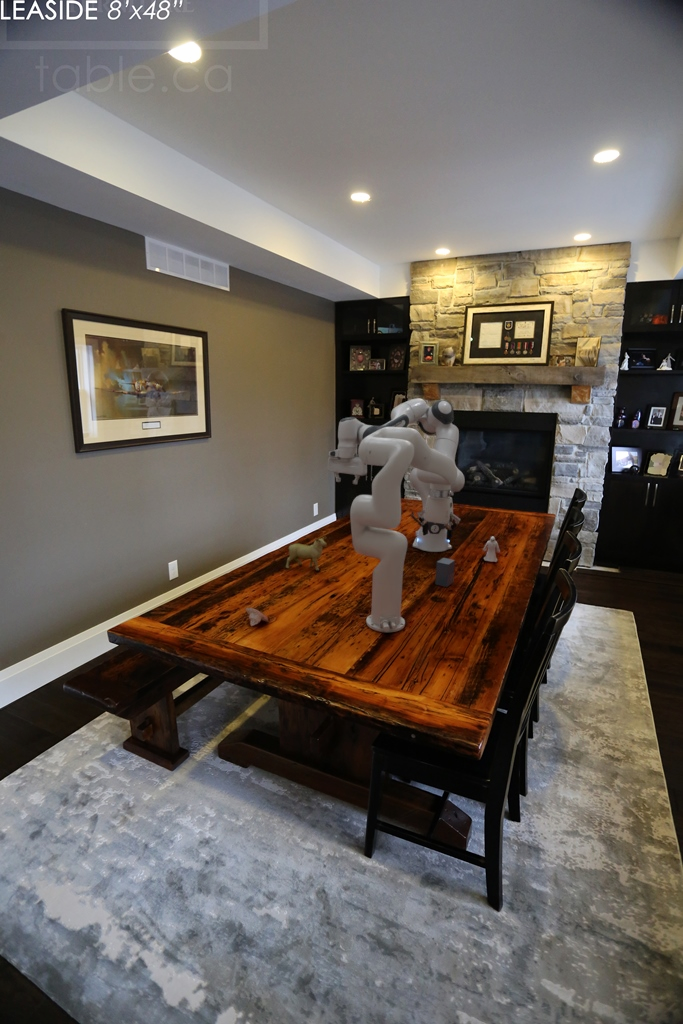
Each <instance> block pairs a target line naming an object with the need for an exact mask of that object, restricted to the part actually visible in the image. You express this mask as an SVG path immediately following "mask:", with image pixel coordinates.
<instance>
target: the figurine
mask: <svg viewBox="0 0 683 1024" xmlns="http://www.w3.org/2000/svg"><path fill="white" fill-rule="evenodd" d="M482 551H483V552H486V554H485V556H484V557H483V560H484V561H485V562H495V563H498V558H497V554H496V553H498V554H499V553H501V550H500V547H499V543H498V541H497V540H496V538H495V536H493V535H492V536H490V539H489V540H487V542H486V543H485V544H484V546H483V548H482Z"/></svg>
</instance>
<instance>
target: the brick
mask: <svg viewBox="0 0 683 1024" xmlns="http://www.w3.org/2000/svg"><path fill="white" fill-rule="evenodd" d="M455 565H456V559H451V558H447V557H442V558H441V559H439V560H437V561H436V567H435V568H436V569H435V583H434V584H435V585H437V586H441V587H444V588H448V587H450V586H451V585H452V584H453V583H454V579H455Z"/></svg>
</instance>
